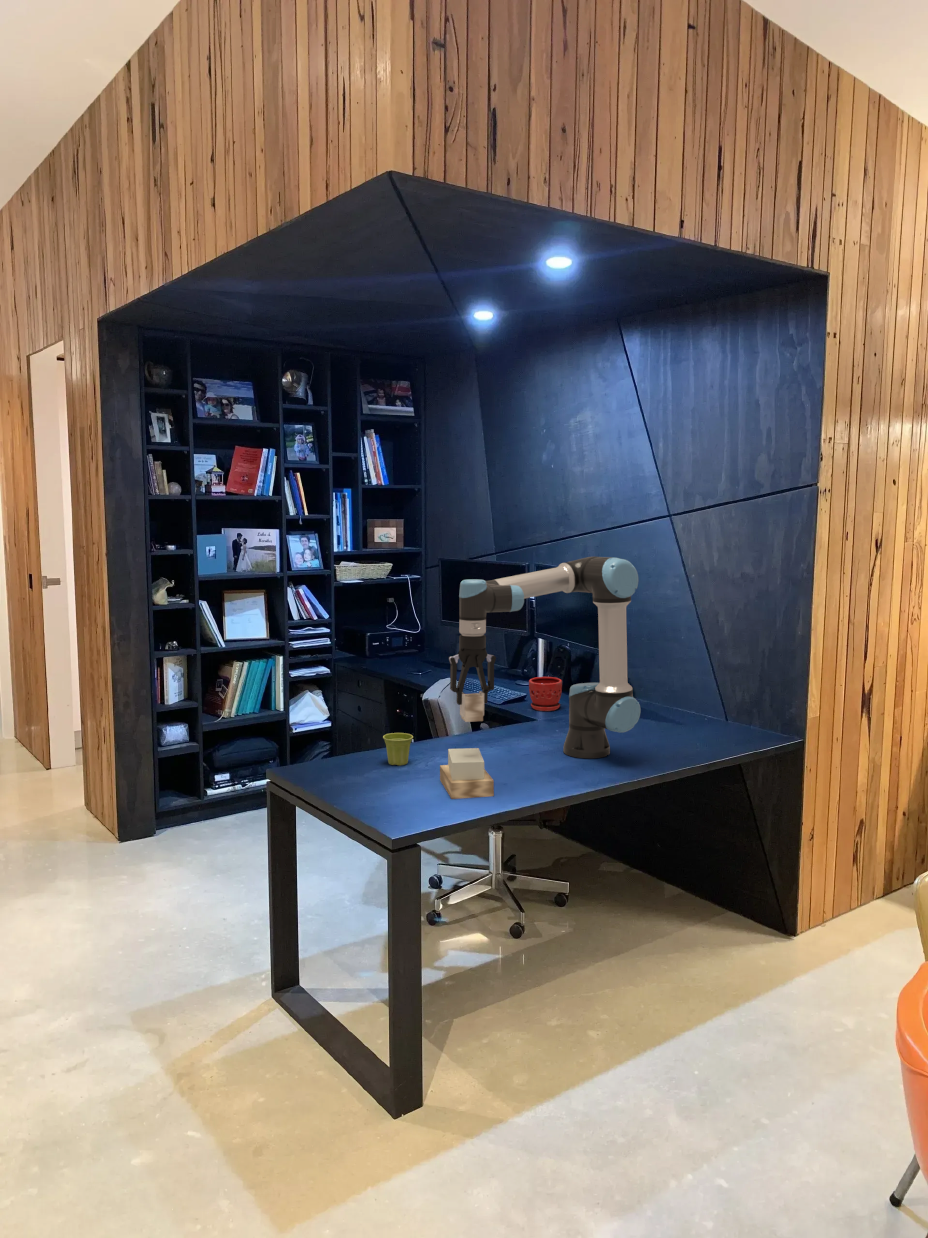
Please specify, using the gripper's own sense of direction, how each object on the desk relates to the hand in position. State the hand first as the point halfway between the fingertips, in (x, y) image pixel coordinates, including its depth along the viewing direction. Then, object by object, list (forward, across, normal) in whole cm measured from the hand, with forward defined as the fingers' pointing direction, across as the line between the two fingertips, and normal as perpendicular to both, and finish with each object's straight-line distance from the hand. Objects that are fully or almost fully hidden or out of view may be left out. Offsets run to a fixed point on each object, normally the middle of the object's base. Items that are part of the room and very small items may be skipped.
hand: (471, 715), depth 260 cm
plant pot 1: (+22, -16, +30) cm, 40 cm away
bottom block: (+22, -2, 0) cm, 22 cm away
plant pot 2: (+21, +56, +91) cm, 109 cm away
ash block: (+1, 0, 0) cm, 1 cm away
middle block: (+17, -2, 0) cm, 17 cm away
